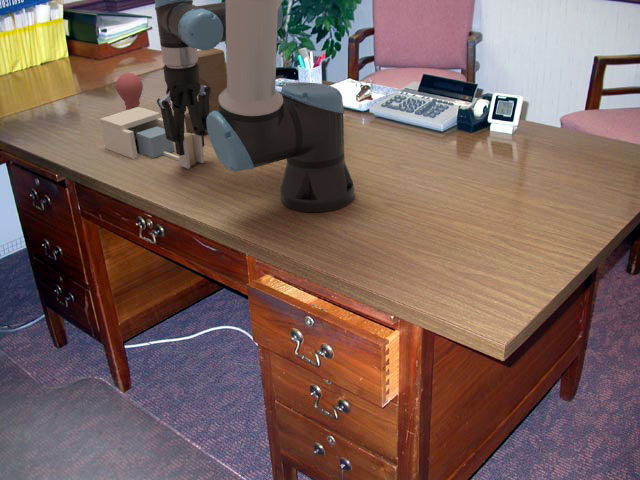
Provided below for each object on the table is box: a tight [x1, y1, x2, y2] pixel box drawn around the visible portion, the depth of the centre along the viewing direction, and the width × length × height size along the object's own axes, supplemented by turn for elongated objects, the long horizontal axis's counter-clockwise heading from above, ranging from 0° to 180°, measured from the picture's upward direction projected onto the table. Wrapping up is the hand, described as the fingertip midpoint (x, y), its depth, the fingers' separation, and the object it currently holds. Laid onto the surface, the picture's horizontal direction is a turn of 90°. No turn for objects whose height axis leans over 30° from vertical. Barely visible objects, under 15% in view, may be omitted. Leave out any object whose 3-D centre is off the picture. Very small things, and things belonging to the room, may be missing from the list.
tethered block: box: [136, 126, 197, 167], centre depth 168 cm, size 17×6×7 cm, turn 46°
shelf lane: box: [99, 107, 164, 160], centre depth 175 cm, size 12×11×8 cm
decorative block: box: [184, 47, 227, 135], centre depth 181 cm, size 11×6×20 cm, turn 127°
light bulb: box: [115, 72, 144, 111], centre depth 196 cm, size 7×7×12 cm
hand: (192, 163), depth 164 cm, fingers closed on tethered block, 3 cm apart
